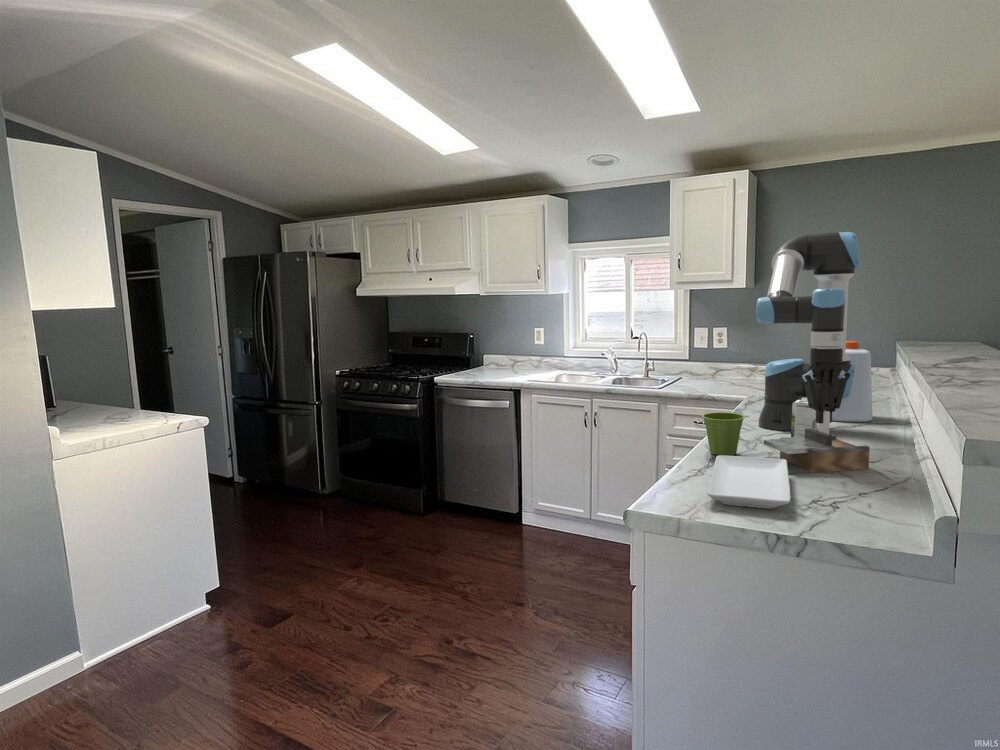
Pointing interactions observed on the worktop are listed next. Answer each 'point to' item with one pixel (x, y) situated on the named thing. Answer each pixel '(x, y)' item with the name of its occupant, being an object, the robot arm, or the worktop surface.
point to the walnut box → (831, 457)
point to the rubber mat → (792, 468)
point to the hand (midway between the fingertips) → (823, 434)
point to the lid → (801, 442)
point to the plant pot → (723, 432)
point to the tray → (750, 481)
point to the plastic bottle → (857, 388)
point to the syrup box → (802, 418)
